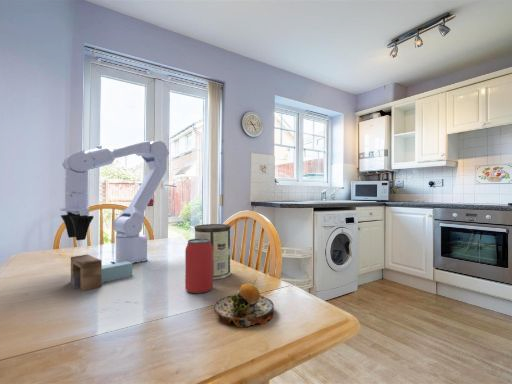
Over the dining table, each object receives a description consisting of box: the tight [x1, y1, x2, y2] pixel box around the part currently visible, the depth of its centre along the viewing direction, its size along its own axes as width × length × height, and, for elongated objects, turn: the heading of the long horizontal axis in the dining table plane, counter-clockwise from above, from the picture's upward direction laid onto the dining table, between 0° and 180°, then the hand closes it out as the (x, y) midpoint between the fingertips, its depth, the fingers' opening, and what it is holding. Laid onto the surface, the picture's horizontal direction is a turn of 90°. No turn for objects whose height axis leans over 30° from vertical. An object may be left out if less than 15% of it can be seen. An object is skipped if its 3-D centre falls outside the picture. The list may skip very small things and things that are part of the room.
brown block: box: [70, 254, 103, 292], centre depth 68 cm, size 4×10×7 cm, turn 49°
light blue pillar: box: [71, 261, 133, 289], centre depth 72 cm, size 14×3×4 cm, turn 139°
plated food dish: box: [214, 277, 275, 329], centre depth 52 cm, size 12×12×8 cm
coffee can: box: [194, 223, 231, 281], centre depth 77 cm, size 10×10×14 cm
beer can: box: [184, 238, 214, 294], centre depth 65 cm, size 7×7×12 cm
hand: (76, 238), depth 80 cm, fingers open, 7 cm apart
